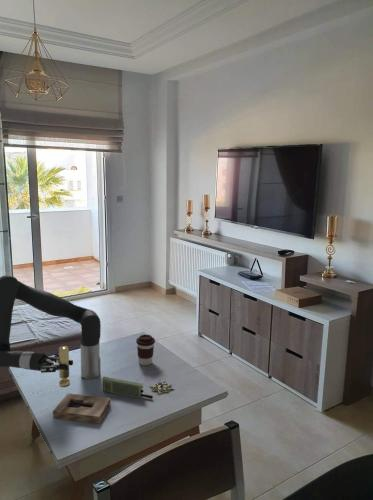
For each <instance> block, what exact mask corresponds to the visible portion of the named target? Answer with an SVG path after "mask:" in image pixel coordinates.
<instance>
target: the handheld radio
mask: <svg viewBox="0 0 373 500" xmlns="http://www.w3.org/2000/svg"><path fill="white" fill-rule="evenodd" d="M101 379H102V381H101V382H102V391H103V392H107V393H112V394H117V395H122V396H126V397H132V398H136V399H142V398H141V397H143V398H147V399H151V400H152V399H153V397H154V396H153V395H151V394H145V393H144V391H145V390H144V383H140V382H135V381H130V380H124V379H120V378H115V377H114V378H113V377H108V376H103V377H102V378H101Z"/></svg>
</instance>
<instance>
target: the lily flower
mask: <svg viewBox="0 0 373 500" xmlns="http://www.w3.org/2000/svg"><path fill="white" fill-rule="evenodd" d="M158 381H159V382H156V383H158V385H161V386H160V388H161V391H164V392H165V393H167V392H169V391H170V390H169V389H168V387H171V386H167V385H168V384H169V383H167V381H166V380H164V381H161V380H158ZM162 382H163V383H166V384H162ZM154 385H156V387H154V388H152V387H150V388H151V389H152V390H151V391H152V392H155V391H156V392H157V395H160V394H163V393H164V392H161V391H160V390H159V389H158V387H157V386H158V385H157V384H154ZM162 385H166V386H167V388H166V390H164V389H163V388H164V387H163V386H162ZM158 390H159V391H160V392H161V393H160V394H159V392H158ZM166 391H167V392H166Z"/></svg>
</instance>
